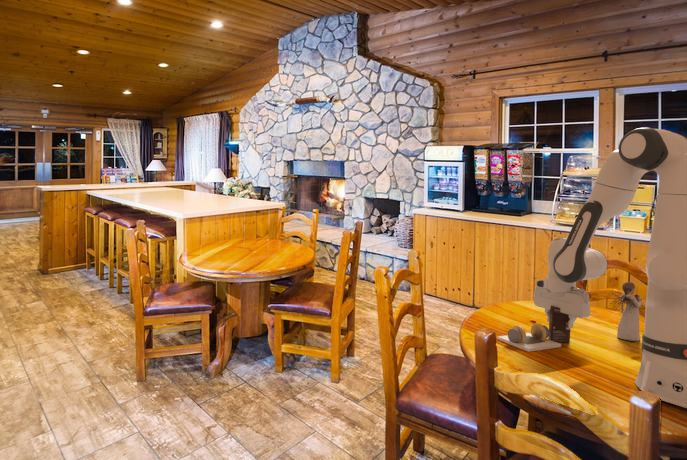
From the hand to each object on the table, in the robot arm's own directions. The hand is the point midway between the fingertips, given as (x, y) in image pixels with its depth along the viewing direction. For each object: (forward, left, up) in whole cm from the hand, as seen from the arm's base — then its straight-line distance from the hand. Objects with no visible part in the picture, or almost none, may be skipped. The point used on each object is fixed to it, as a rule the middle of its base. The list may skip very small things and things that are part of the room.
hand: (559, 324), depth 149 cm
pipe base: (+2, +12, -6) cm, 13 cm away
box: (0, 0, -6) cm, 6 cm away
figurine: (-6, -23, -6) cm, 24 cm away
